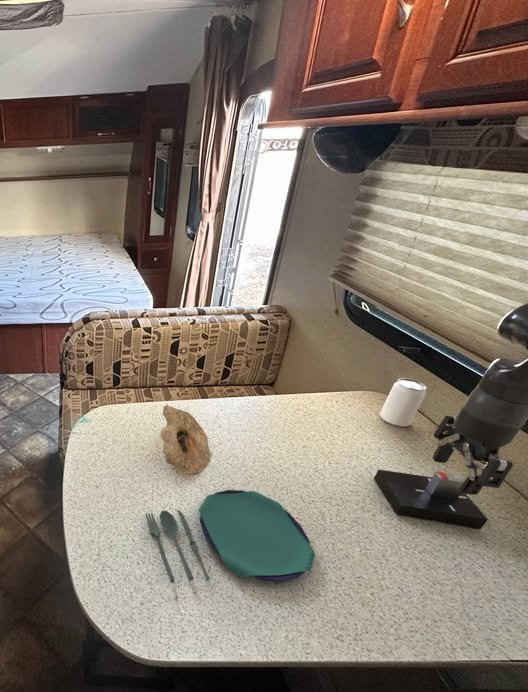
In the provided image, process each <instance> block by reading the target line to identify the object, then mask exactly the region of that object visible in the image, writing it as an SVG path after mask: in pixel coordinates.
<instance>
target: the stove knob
mask: <svg viewBox="0 0 528 692" xmlns="http://www.w3.org/2000/svg"><path fill="white" fill-rule="evenodd" d="M431 477H432V479H431V480H430V482H429V483H428V485H427V487H426V488H425V489H426V490H427V491H428V493H429V494H430V495H431V496H435V497H442V498H448V499H454V500H457V499H458V497H459V496H460V495H461V493H462V492H461V491H460V490H459V488H460V487H461V486H462V484H463V483H464V481H465V480H466V478H465V477H464V476H463V475H461V474H454V473H449V472H443V471H435V472H434V474H433V475H432V476H431Z"/></svg>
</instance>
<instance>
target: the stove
mask: <svg viewBox="0 0 528 692" xmlns="http://www.w3.org/2000/svg"><path fill="white" fill-rule="evenodd" d="M432 477H433V476H426V475H420V474H413V473H405V472H399V471H392V470H386V469H385V470H384V469H380V468H379V469H377V471H376V473H375V475H374V477H373V481H374V482H375V483H376V486H378V488H379V490H380V491H381V493H382V495H383V496H384V498H385V499H386V501H387V502H388V504H389V506H390V507H391V509H392V510H393V512H394V513H395V515H396V516H400V517H404V518H406V517H407V518H412V519H417V520H423V521H428V520H429V521H430V522H434V521H436V522H435V523H440V522H441V524H446V525H453V526H459V527H465V528H470V529H476V530H482V529H483V527H484V526H485V524H486V523H488V521H489V519H488V517H487V516H486V515H485V514H484V513H483V512H482V511H481V509H480V508H479V507H478V506H477V505H476V504H475V502H474V501H473V500H472V499H471V497H469V495H468V494H463V493H461V495H460V496H459V497H458V499H457V500H454V499H448V498H442V497H435V496H431V495H430V494H429V493H428V491H427V490H426V489H425V488H426V487H427V485H428V483H429V482H430V480H431V479H432ZM429 521H428V522H429Z"/></svg>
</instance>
